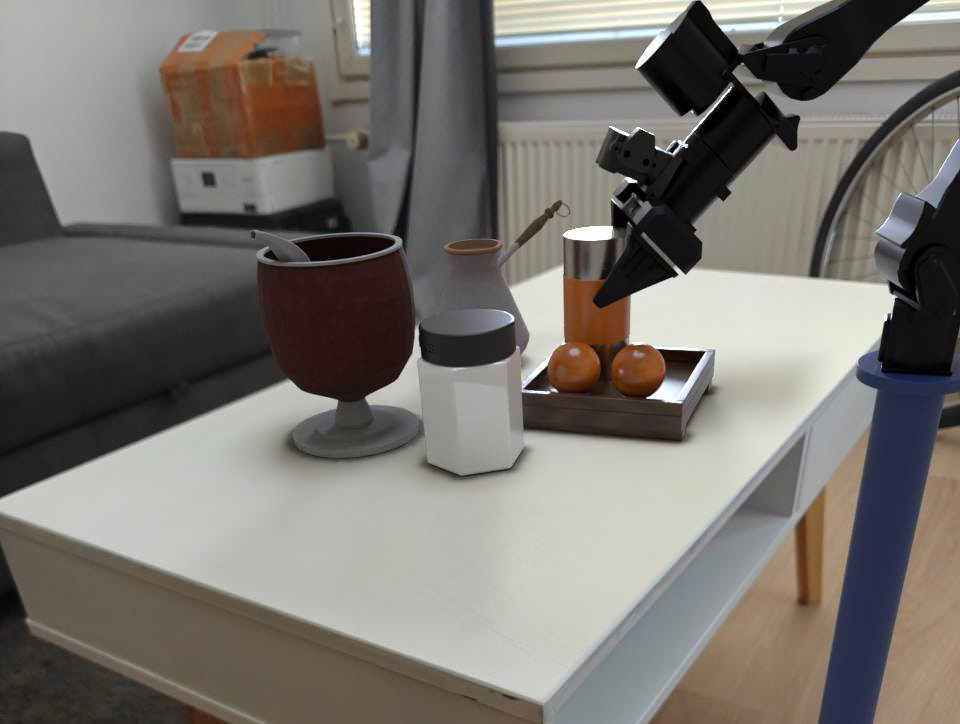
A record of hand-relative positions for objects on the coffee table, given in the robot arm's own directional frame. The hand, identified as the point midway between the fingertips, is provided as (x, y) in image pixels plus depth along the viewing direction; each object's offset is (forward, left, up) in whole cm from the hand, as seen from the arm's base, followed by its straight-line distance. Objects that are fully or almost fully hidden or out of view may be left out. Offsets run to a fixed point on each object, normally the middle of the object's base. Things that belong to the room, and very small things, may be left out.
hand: (590, 292), depth 89 cm
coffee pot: (+13, -12, -10) cm, 21 cm away
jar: (+5, +18, -10) cm, 21 cm away
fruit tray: (-4, +3, -10) cm, 11 cm away
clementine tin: (-1, 0, -8) cm, 8 cm away
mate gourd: (+19, +16, -10) cm, 27 cm away
